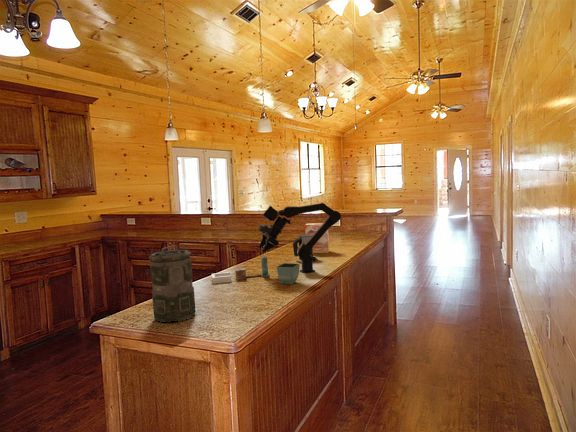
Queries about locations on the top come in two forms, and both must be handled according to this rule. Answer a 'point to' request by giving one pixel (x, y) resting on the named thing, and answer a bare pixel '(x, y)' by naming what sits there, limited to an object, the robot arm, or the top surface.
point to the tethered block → (242, 275)
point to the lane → (221, 277)
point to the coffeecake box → (323, 242)
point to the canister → (172, 285)
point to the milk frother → (301, 239)
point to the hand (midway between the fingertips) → (261, 250)
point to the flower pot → (288, 273)
